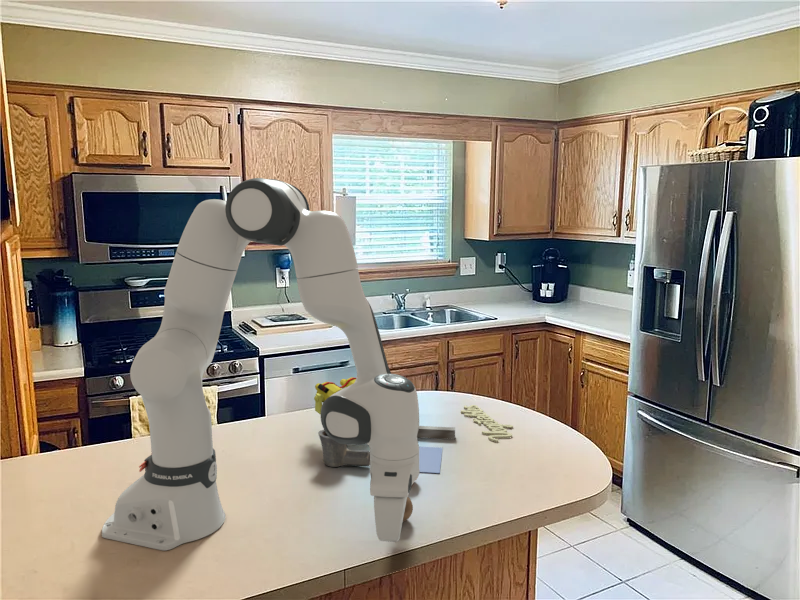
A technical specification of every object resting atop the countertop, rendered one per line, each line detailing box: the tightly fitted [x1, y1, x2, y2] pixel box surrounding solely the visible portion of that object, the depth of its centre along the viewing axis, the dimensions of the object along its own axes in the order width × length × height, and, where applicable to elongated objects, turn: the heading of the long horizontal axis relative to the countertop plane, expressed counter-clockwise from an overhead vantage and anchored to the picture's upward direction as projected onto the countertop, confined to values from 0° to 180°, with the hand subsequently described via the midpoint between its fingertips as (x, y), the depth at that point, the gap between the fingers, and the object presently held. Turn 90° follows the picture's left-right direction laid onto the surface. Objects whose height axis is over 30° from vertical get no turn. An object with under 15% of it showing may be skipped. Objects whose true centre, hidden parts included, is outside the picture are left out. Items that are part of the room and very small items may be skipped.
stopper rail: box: [417, 425, 456, 440], centre depth 161 cm, size 20×2×2 cm, turn 84°
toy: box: [313, 376, 356, 416], centre depth 161 cm, size 17×14×15 cm
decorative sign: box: [460, 404, 514, 443], centre depth 171 cm, size 26×1×10 cm
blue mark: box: [419, 446, 443, 475], centre depth 147 cm, size 14×14×1 cm
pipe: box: [317, 429, 370, 468], centre depth 144 cm, size 6×13×8 cm, turn 78°
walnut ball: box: [402, 496, 414, 523], centre depth 120 cm, size 5×5×5 cm
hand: (395, 536), depth 111 cm, fingers closed
